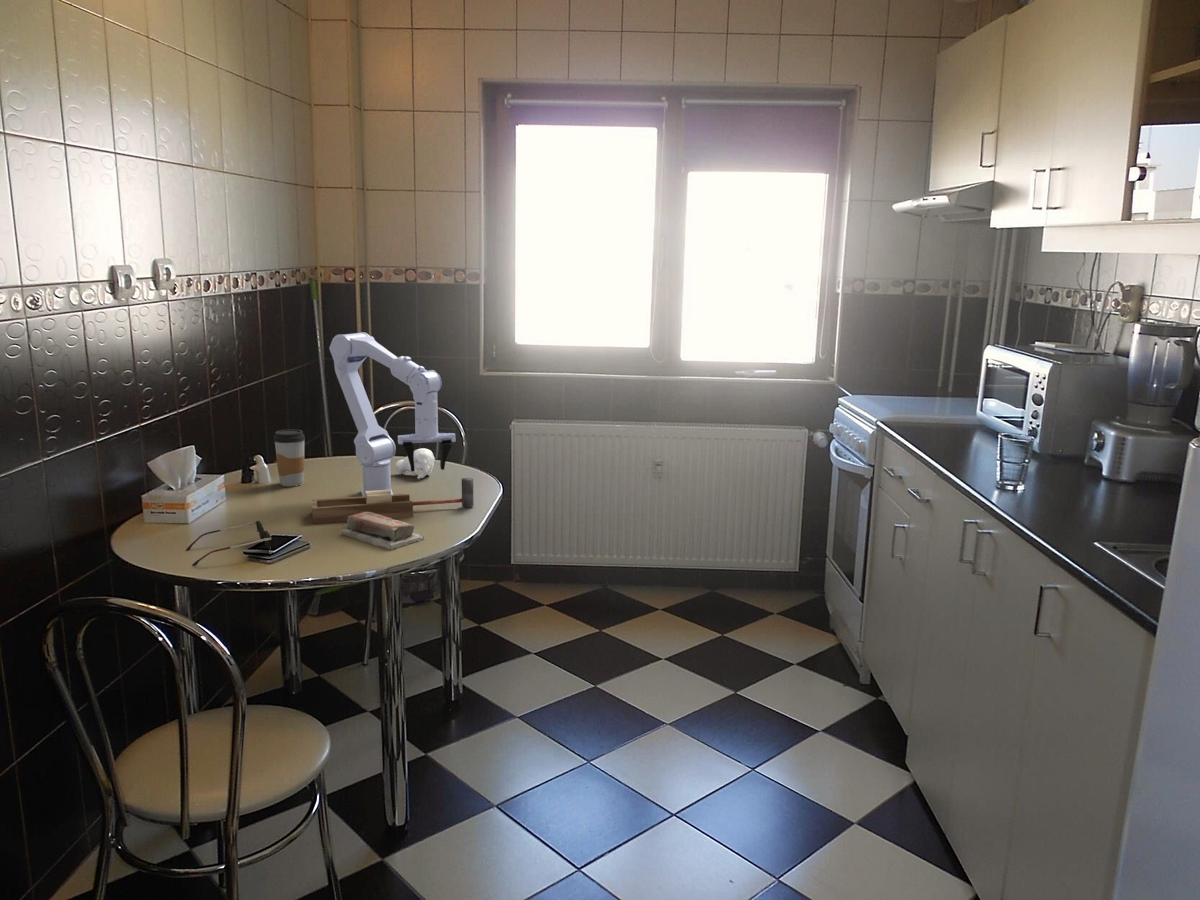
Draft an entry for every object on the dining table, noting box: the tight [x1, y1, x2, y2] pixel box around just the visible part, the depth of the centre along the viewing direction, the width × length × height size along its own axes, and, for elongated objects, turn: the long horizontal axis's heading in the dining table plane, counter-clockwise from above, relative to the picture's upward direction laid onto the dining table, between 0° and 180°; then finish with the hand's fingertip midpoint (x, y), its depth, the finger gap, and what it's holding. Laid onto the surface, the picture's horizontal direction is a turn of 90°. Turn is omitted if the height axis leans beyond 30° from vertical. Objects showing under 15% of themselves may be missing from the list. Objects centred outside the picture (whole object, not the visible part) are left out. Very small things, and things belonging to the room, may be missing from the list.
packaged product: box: [341, 512, 425, 550], centre depth 209 cm, size 18×5×10 cm
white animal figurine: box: [394, 447, 436, 479], centre depth 264 cm, size 6×8×12 cm
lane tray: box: [311, 493, 414, 524], centre depth 226 cm, size 10×24×4 cm, turn 108°
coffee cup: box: [273, 428, 306, 487], centre depth 251 cm, size 8×8×15 cm
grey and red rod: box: [366, 477, 475, 508], centre depth 230 cm, size 5×27×7 cm, turn 108°
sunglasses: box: [185, 520, 272, 566], centre depth 196 cm, size 14×16×5 cm
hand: (427, 469), depth 234 cm, fingers open, 7 cm apart
